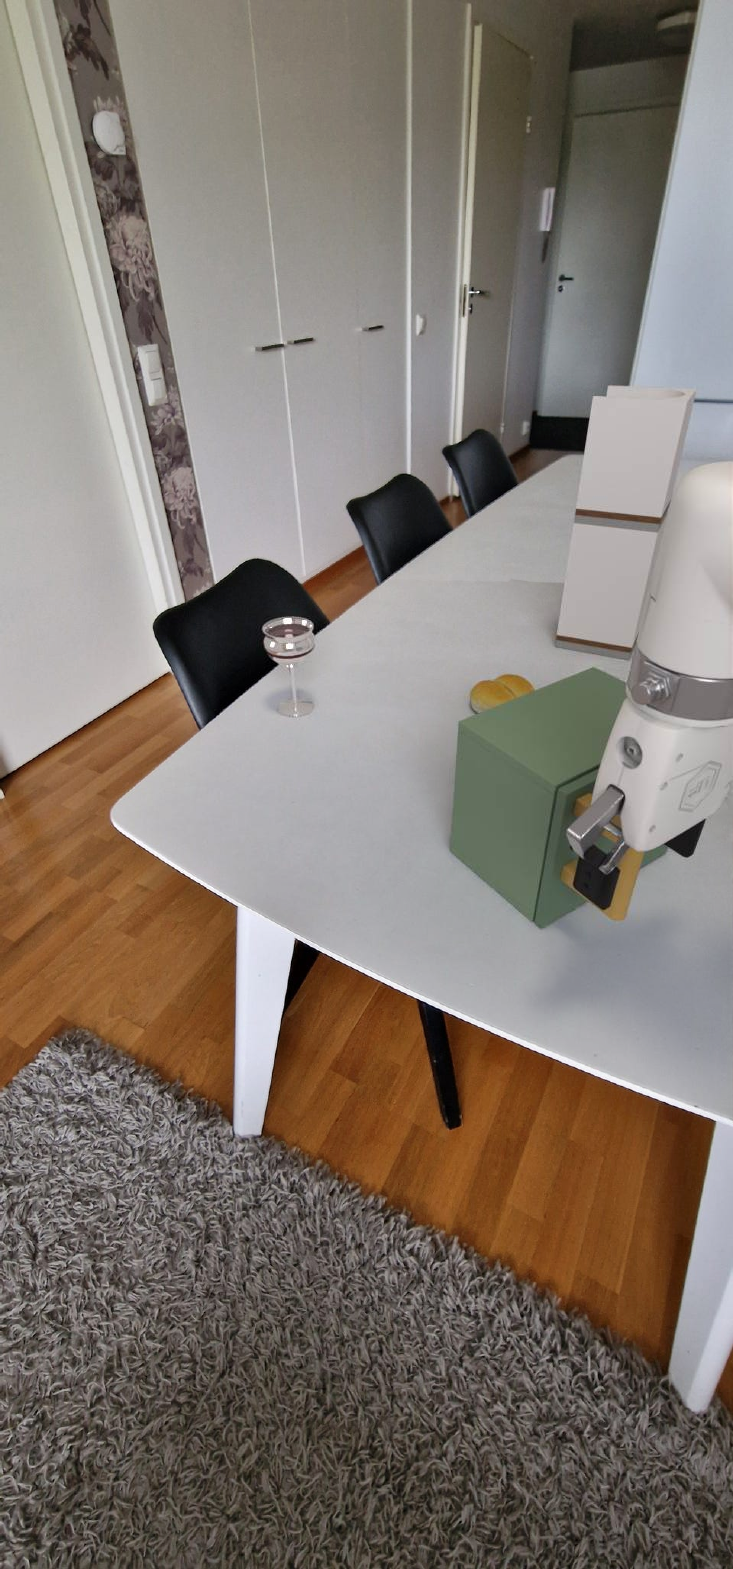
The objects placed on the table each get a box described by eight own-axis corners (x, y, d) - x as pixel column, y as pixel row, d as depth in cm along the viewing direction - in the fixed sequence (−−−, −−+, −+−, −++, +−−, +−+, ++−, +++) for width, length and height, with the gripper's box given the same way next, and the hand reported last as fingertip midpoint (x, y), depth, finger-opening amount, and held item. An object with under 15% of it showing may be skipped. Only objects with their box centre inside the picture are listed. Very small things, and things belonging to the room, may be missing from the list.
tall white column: (640, 632, 115) (696, 389, 94) (629, 660, 107) (687, 401, 86) (570, 621, 119) (609, 385, 98) (554, 646, 111) (592, 397, 90)
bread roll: (458, 700, 98) (460, 675, 96) (512, 686, 101) (515, 661, 99) (490, 729, 92) (493, 702, 90) (547, 713, 95) (551, 687, 93)
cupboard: (656, 846, 73) (696, 715, 64) (531, 921, 66) (555, 785, 56) (569, 790, 81) (593, 666, 72) (449, 851, 74) (458, 721, 64)
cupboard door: (721, 888, 68) (774, 755, 59) (594, 975, 60) (632, 837, 51) (658, 847, 73) (698, 718, 64) (533, 922, 65) (557, 788, 56)
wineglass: (323, 696, 100) (318, 617, 93) (315, 721, 95) (309, 639, 88) (277, 694, 101) (268, 615, 94) (266, 719, 96) (256, 637, 88)
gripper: (652, 749, 38) (594, 953, 49) (824, 662, 46) (742, 855, 56) (551, 693, 43) (518, 888, 54) (721, 623, 51) (664, 806, 61)
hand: (633, 871), depth 55 cm, fingers open, 9 cm apart
